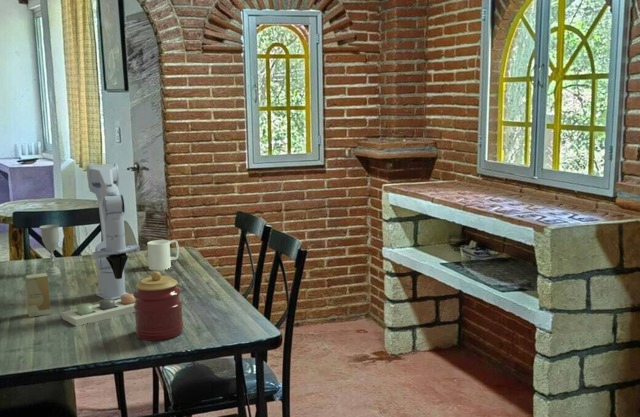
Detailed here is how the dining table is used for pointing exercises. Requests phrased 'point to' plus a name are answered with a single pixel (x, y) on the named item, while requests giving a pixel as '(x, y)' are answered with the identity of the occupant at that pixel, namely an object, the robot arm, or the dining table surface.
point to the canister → (158, 308)
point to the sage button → (84, 309)
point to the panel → (98, 313)
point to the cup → (160, 254)
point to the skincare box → (37, 294)
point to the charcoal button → (107, 304)
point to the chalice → (51, 244)
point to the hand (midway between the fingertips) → (118, 278)
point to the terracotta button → (127, 299)
